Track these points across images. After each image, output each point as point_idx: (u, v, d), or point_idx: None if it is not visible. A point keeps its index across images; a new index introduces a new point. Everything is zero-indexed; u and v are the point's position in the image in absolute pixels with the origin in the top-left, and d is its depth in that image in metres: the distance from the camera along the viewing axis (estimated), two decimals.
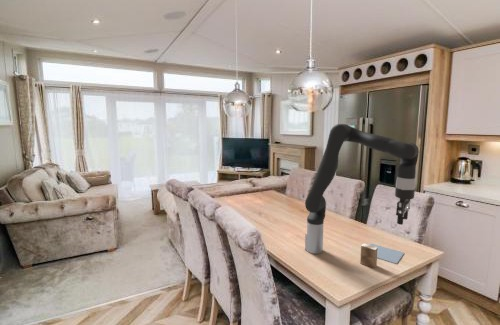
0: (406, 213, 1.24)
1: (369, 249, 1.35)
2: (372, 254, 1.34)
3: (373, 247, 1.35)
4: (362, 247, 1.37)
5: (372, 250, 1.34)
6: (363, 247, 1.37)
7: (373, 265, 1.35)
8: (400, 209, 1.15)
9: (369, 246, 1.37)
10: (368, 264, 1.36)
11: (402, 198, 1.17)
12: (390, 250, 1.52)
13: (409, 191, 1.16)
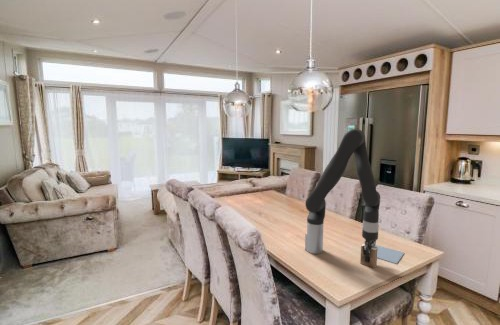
0: None
1: (369, 249, 1.35)
2: (372, 254, 1.34)
3: (373, 247, 1.35)
4: (362, 247, 1.37)
5: (372, 249, 1.34)
6: None
7: (373, 265, 1.35)
8: (366, 251, 1.32)
9: None
10: (368, 264, 1.36)
11: (367, 239, 1.33)
12: (390, 250, 1.52)
13: (373, 233, 1.32)
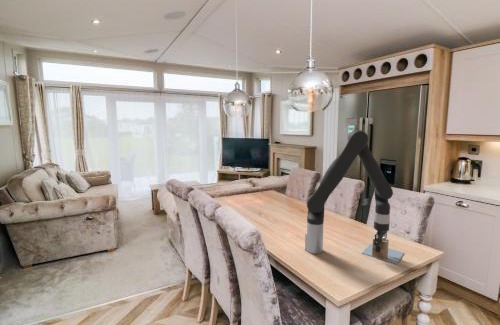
0: None
1: None
2: (383, 246, 1.42)
3: (384, 240, 1.43)
4: None
5: (383, 242, 1.41)
6: None
7: (384, 257, 1.42)
8: (377, 240, 1.39)
9: None
10: (379, 256, 1.44)
11: (379, 230, 1.40)
12: (390, 250, 1.52)
13: (384, 225, 1.39)
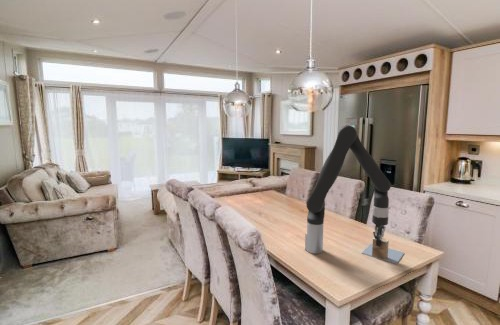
0: None
1: (381, 242, 1.42)
2: (383, 246, 1.42)
3: (384, 240, 1.43)
4: (374, 240, 1.45)
5: (383, 242, 1.41)
6: (375, 240, 1.44)
7: (384, 257, 1.42)
8: (377, 236, 1.37)
9: None
10: (379, 256, 1.44)
11: (377, 224, 1.37)
12: (390, 250, 1.52)
13: (383, 218, 1.36)
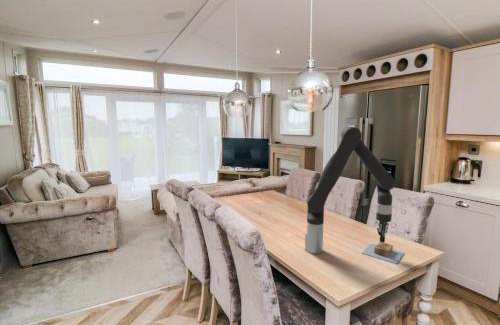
0: None
1: (387, 244, 1.53)
2: (388, 245, 1.50)
3: None
4: (380, 242, 1.55)
5: (389, 244, 1.52)
6: (381, 242, 1.55)
7: (387, 250, 1.45)
8: (380, 233, 1.42)
9: None
10: (382, 248, 1.47)
11: (381, 221, 1.42)
12: None
13: (387, 215, 1.40)
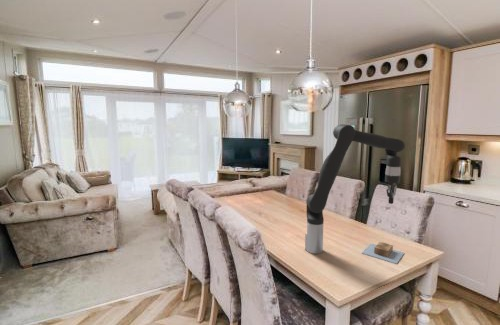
0: None
1: (387, 244, 1.53)
2: (388, 245, 1.50)
3: None
4: (380, 242, 1.55)
5: (389, 244, 1.52)
6: (381, 242, 1.55)
7: (387, 250, 1.45)
8: (389, 193, 1.49)
9: None
10: (382, 248, 1.47)
11: (390, 182, 1.49)
12: None
13: (395, 177, 1.48)
